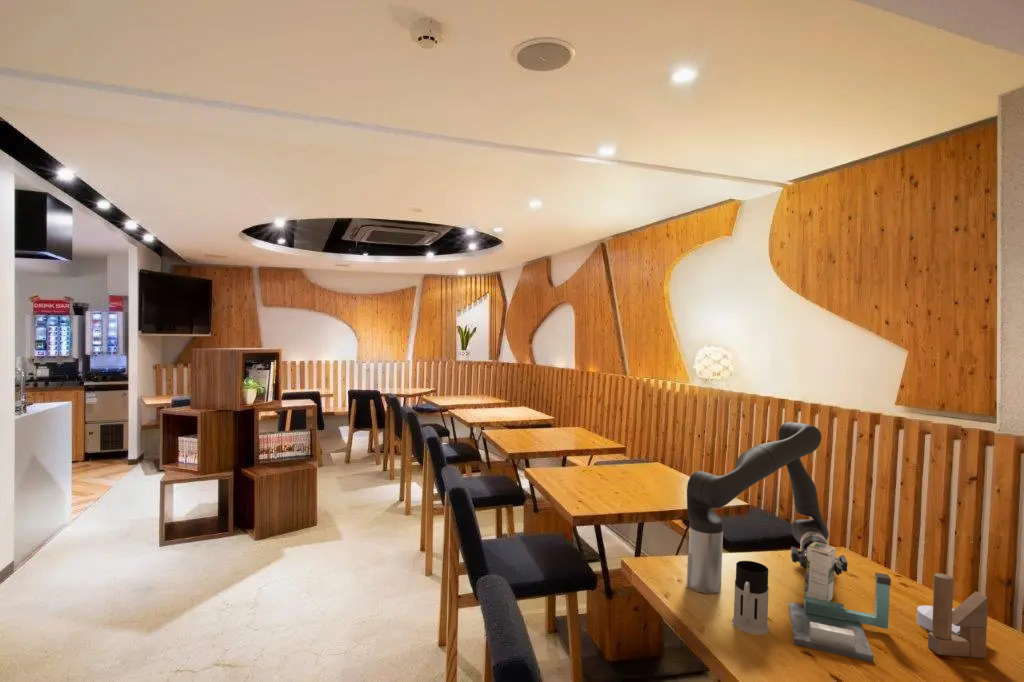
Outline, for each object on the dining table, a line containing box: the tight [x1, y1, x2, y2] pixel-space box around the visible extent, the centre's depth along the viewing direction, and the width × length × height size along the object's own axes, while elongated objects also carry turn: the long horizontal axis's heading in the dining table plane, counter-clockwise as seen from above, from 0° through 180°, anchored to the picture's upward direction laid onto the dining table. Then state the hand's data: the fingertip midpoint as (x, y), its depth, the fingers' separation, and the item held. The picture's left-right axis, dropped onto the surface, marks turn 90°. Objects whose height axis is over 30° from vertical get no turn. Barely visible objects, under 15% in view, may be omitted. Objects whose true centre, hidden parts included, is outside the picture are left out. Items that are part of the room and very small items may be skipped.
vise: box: [788, 601, 874, 663], centre depth 135 cm, size 16×20×4 cm
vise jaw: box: [803, 572, 892, 630], centre depth 139 cm, size 18×3×13 cm, turn 66°
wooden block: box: [927, 572, 989, 659], centre depth 128 cm, size 4×11×18 cm, turn 87°
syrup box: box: [803, 542, 837, 601], centre depth 150 cm, size 6×6×14 cm
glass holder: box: [731, 560, 770, 636], centre depth 135 cm, size 9×14×15 cm, turn 148°
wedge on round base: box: [916, 605, 960, 636], centre depth 138 cm, size 9×7×13 cm
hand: (821, 568), depth 148 cm, fingers closed on syrup box, 7 cm apart
